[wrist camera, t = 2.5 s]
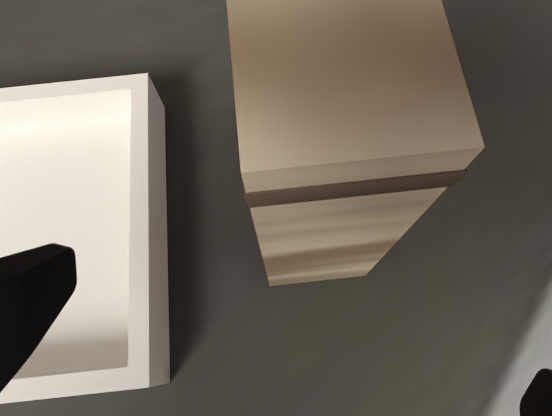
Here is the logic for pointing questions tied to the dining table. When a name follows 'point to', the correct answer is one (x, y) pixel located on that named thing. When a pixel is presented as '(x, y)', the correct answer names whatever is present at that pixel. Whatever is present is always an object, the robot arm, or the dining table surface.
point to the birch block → (345, 127)
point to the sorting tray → (91, 229)
